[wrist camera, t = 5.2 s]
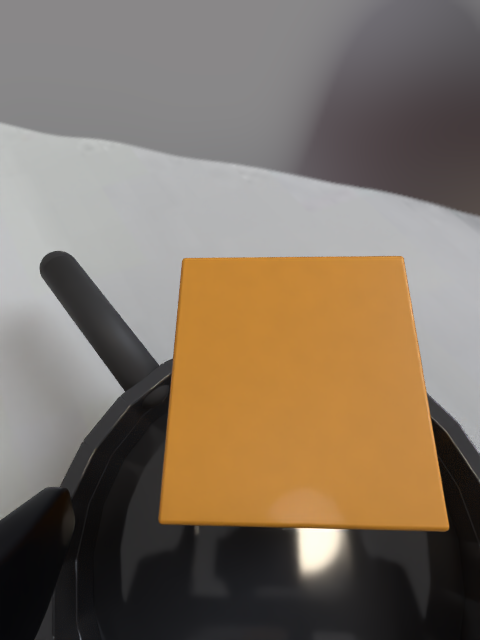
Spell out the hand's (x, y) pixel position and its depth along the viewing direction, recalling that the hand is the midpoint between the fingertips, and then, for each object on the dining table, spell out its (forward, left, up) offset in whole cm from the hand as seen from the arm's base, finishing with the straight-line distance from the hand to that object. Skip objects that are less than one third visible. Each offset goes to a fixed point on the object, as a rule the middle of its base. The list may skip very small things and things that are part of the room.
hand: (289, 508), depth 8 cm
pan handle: (-1, +10, -7) cm, 12 cm away
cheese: (+1, +1, -9) cm, 9 cm away
